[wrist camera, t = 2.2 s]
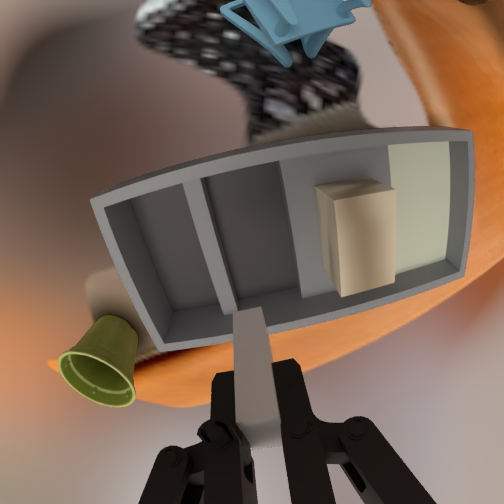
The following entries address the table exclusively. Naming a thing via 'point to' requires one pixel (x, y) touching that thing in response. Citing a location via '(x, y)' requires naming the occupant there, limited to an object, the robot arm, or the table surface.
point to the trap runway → (282, 230)
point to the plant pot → (103, 363)
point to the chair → (292, 22)
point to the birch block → (358, 233)
